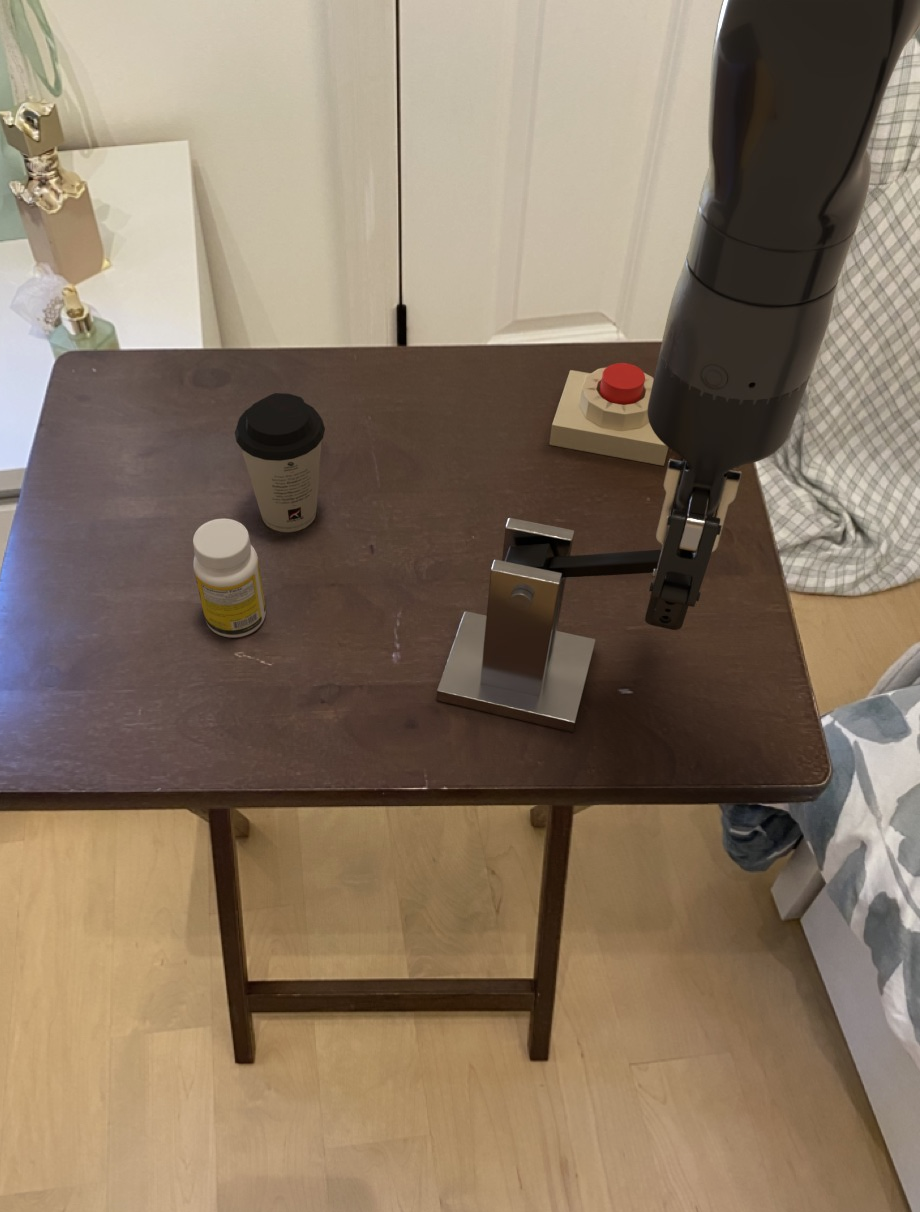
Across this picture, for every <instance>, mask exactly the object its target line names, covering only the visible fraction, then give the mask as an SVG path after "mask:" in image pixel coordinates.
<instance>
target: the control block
mask: <svg viewBox="0 0 920 1212" xmlns="http://www.w3.org/2000/svg"><path fill="white" fill-rule="evenodd" d="M607 367H608V366H606V367H599V368H597V369H596V370H594V371H593V372H591V373H590V372H584V371H579V370H572V369H570V370H569V373H568V375H567V378H566V382H565V384H564V388H563V391H562V393H561V397H560V400H559V403H558V406H557V408H556V412H555V415H554V418H553V421H552V423H551V430H550V437H549V446H553V447H558V448H564V449H570V450H576V451H579V452H580V451H581V452H586V453H592V454H596V455H601V456H607V457H613V458H619V459H625V460H630V461H635V462H641V463H645V464H651V465H657V466H662V467H665V463H666V458H667V454H668V451H669V447H667V446H666V445H665V444H664V443H663V442H662V441H661V440H660V439H659V438H658V437H657V436H656V434H655V433H654V431H653V430H652V427H651V425H650V423H649V419H648V403H649V398H650V394H651V389H652V385H653V380H654V376H651V375H649V374H647V373H646V372H644V374H645V382H644V387H643V392H642V396H641V398H640V400H639V401H637V402H636V403H634V404H628V405H620V404H615V403H610V402H608V401H606V400H605V399H603V398H602V397H601V395H600V385H601V380H602V374H603V371H604V370H605V368H607Z"/></svg>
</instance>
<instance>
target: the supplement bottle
mask: <svg viewBox="0 0 920 1212" xmlns="http://www.w3.org/2000/svg"><path fill="white" fill-rule="evenodd" d="M192 538H193V539H192V544H193V552H194V557H193V562H192V563H193V564H192V566H193V567H192V568H193V572H194V577H195V582H196V585H197V590H198V594H199V598H200V603H201V607H202V612H203V615H204V620H205V622H206V625H207V626H208V628H209V629H210V630H211V631H212V632H213V633H215V634H217V635H219V636H220V637H221V636H222V637H226V638H243V637H245V636H249V635H250V634H252V633H254V632H256V631H257V630H258V629H259V628H260V627H261V626H262V624H263V623H264V621H265V619H266V614H267V607H266V601H265V594H264V589H263V582H262V577H261V570H260V564H259V563H260V562H259V557H258V554H257V552H256V549H255V548H254V546H253V545H252V544H251V539H250V533H249V531H248V528H246V526H245V525H244V524H243V523H241V522H239V521H238V520H235V519H231V518H215V519H212V520H209V521H206V522H205V523H203V524H202V525H200V526H199V527H198V528H197V530H196V531H195V533H194V534H193V537H192Z"/></svg>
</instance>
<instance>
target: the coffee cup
mask: <svg viewBox="0 0 920 1212" xmlns="http://www.w3.org/2000/svg"><path fill="white" fill-rule="evenodd" d="M325 431H326V427H325V423H324V419H323V418H322V416H320V414H319V413H318V411H317V410H316V409H315V407H313V406H312V405H309V404H308V403H306V402H305V401H304V399H303V398H302V396H298V395H295V394H292V393H286V392H285V393H283V392H282V393H281V392H274V393H272V394H269V395H267V396H266V397H263V398H262V399H259V400H258V401H256V402H254V403H253V404H251V406H250V407H248V408H247V409H245V411H244V412H243V413H242V414H241V415H240V417H238V420H237V423H236V427H235V430H234V437H235V442H236V444H237V445H238V446H239V447H240V449H241V452H242V455H243V459H244V463H245V465H246V469H247V472H248V475H249V479H250V482H251V486H252V489H253V493H254V496H255V500H256V502H257V505H258V508H259V512H260V515H261V519H262V521H263V523H264V524H265V525H266V526H267V527H268V528H270V529H271V530H273V531H277V532H280V533H293V532H299V531H301V530H304V529H306V528H307V527H309V526H310V525H311V524H312V523H313V521H314V520H315V519H316V517H317V516H316V515H317V510H318V496H319V494H318V493H319V481H320V466H321V452H322V440H323V439H324V437H325V436H324V435H325Z"/></svg>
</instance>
